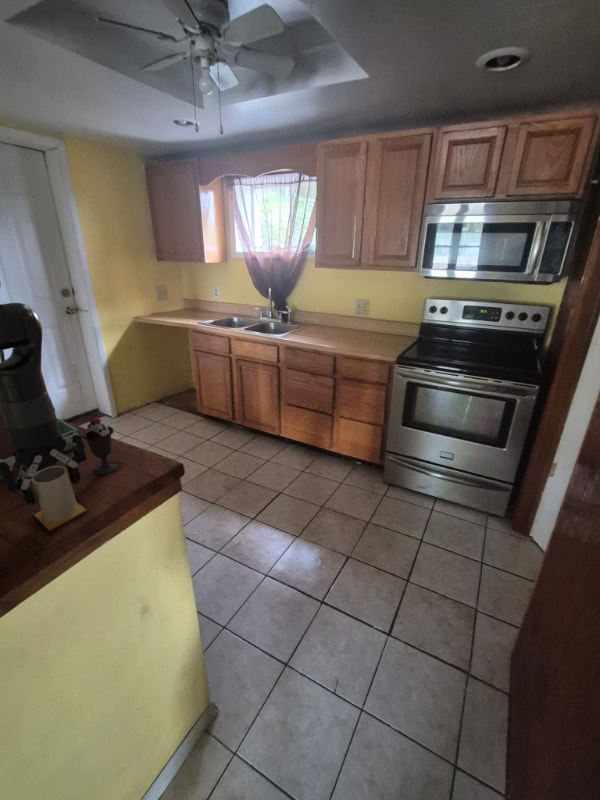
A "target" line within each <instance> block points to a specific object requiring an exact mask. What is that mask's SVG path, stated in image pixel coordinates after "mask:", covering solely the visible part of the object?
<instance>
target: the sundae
mask: <svg viewBox="0 0 600 800" xmlns="http://www.w3.org/2000/svg"><path fill="white" fill-rule="evenodd" d="M92 412H93V414H94V415H93V418H92V419H90V422H89V424H88V425H87V427H86V430H85V431H84V432H83V434H81V438H82V439H84V440H86V442H87V444H88V447H89V449H90V451H91V453H92V455H93V456H94V457H96V458H100V459H101V466H99V468H98V469H95V470H94V472H95V474H97V475H101V476H103V475H108V474H112V473H114V472H115V471H116V470H117V469H118V464H117V463H115V462H111V463H110V462H109V461H108V457H109V456H110V454H111V452H112V449H113V447H112V446H113V445H112V435H113V434H114V432H115V430H114V428H113V427H112V426H110V425H107V424H105V423H104V422H102V419H100V418H99V416H98V414H97V413H96V409H94V410H92ZM95 417H96V418H95Z"/></svg>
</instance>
